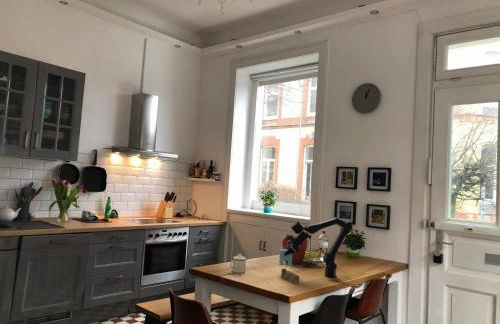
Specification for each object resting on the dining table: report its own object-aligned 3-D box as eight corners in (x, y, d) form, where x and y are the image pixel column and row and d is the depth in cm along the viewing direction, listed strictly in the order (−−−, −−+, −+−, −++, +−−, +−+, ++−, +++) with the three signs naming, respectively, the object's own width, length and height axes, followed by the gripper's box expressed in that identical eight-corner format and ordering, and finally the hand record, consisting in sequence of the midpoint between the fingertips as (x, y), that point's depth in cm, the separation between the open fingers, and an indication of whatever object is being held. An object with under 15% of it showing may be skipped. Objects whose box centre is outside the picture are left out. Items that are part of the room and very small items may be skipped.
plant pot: (305, 264, 306) (306, 242, 307) (280, 262, 310) (282, 240, 311) (307, 260, 325) (308, 239, 325) (283, 258, 329) (284, 237, 329)
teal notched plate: (291, 264, 271) (291, 249, 272) (291, 265, 269) (292, 250, 269) (279, 264, 271) (279, 249, 271) (279, 265, 268) (280, 250, 269)
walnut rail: (281, 276, 263) (281, 268, 263) (284, 276, 264) (284, 268, 264) (295, 284, 245) (295, 276, 245) (298, 284, 245) (299, 276, 246)
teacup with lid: (240, 269, 277) (241, 252, 277) (248, 272, 270) (249, 254, 270) (225, 270, 270) (226, 253, 270) (233, 273, 262) (234, 256, 263)
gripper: (290, 228, 280) (273, 244, 279) (295, 232, 262) (278, 248, 260) (300, 240, 281) (284, 255, 279) (306, 244, 262) (289, 261, 261)
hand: (283, 254), depth 270 cm, fingers closed on teal notched plate, 2 cm apart
